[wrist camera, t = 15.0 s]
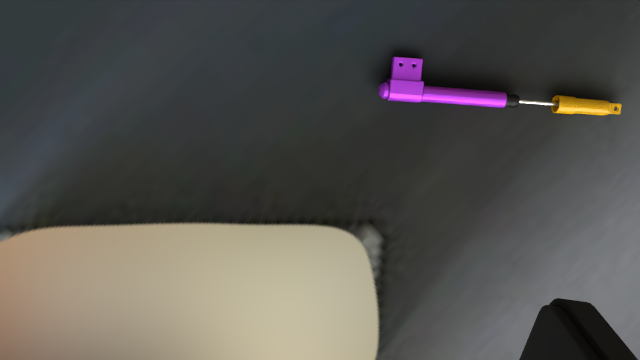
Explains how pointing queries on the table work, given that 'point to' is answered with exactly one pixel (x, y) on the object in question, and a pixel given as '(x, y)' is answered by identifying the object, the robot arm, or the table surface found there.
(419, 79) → the pneumatic cylinder
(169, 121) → the table surface
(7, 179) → the table surface
